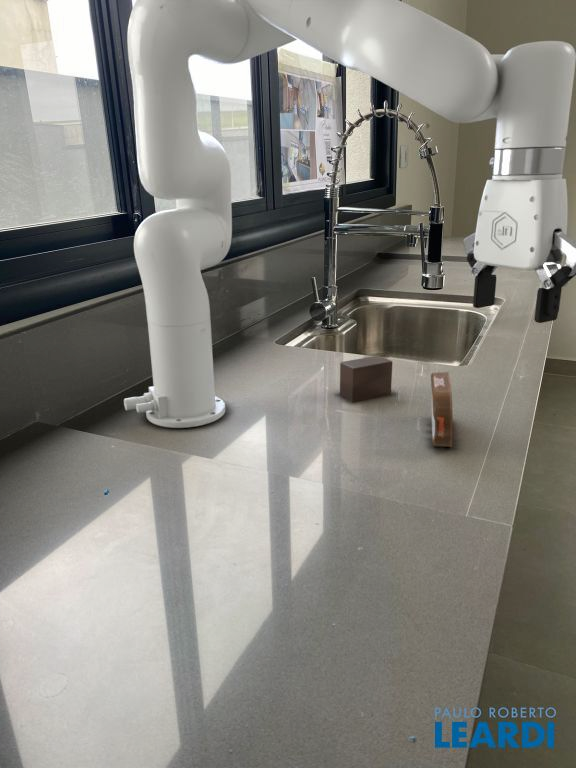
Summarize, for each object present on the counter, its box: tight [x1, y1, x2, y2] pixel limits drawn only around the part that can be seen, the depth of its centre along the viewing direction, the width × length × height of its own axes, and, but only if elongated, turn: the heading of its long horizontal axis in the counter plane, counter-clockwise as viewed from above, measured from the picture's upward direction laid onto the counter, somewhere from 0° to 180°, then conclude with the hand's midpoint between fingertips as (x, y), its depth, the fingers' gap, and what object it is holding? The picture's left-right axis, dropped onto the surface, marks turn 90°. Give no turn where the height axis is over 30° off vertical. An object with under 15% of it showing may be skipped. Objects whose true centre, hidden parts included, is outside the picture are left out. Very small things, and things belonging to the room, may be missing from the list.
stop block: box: [339, 354, 393, 403], centre depth 104 cm, size 8×4×6 cm, turn 118°
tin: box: [430, 371, 454, 448], centre depth 87 cm, size 15×3×8 cm, turn 168°
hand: (512, 313), depth 75 cm, fingers open, 9 cm apart
